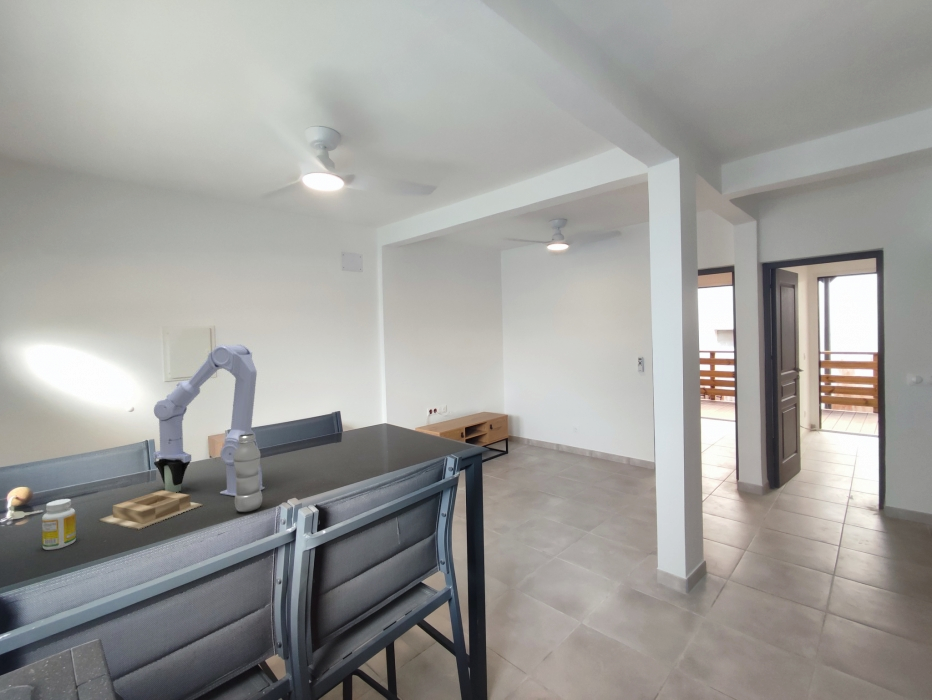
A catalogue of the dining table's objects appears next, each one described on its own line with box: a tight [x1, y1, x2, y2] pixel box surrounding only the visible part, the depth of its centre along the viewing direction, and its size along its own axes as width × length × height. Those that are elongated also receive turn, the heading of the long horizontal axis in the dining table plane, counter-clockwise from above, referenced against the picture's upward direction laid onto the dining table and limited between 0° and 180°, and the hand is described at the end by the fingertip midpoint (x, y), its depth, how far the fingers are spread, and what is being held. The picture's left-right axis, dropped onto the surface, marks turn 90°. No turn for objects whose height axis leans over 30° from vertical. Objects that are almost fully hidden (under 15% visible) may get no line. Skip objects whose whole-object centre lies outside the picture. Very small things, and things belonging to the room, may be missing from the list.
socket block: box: [98, 489, 204, 531], centre depth 112 cm, size 16×16×3 cm
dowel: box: [164, 465, 182, 493], centre depth 128 cm, size 4×4×8 cm
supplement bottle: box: [41, 498, 77, 551], centre depth 95 cm, size 5×5×10 cm
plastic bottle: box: [233, 434, 263, 513], centre depth 112 cm, size 6×7×20 cm
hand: (172, 483), depth 128 cm, fingers closed on dowel, 4 cm apart
